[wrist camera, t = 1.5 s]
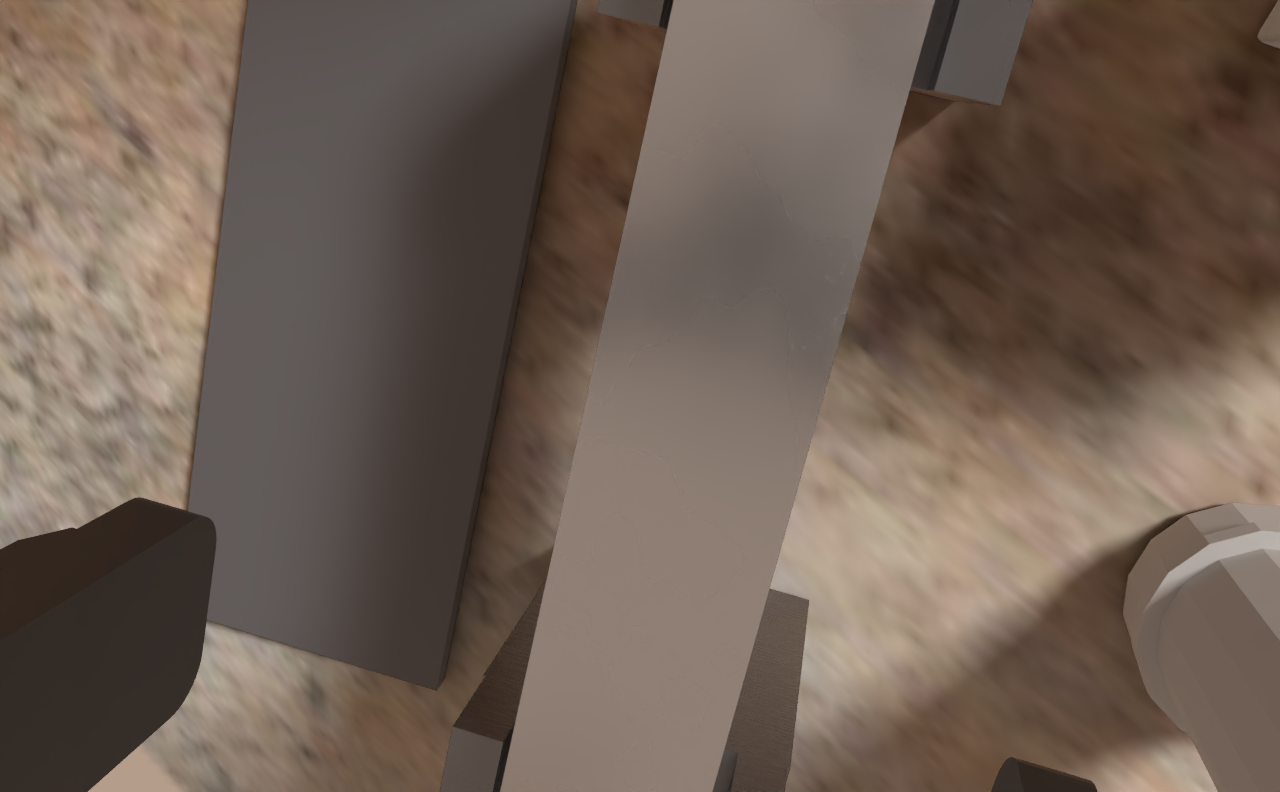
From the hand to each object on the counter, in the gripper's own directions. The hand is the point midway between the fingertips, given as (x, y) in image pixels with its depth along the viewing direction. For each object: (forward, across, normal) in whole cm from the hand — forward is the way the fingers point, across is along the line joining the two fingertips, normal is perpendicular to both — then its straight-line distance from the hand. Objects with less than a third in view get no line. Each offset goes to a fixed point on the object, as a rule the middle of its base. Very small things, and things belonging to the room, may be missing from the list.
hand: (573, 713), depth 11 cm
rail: (+11, 0, 0) cm, 11 cm away
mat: (+19, +10, 0) cm, 21 cm away
